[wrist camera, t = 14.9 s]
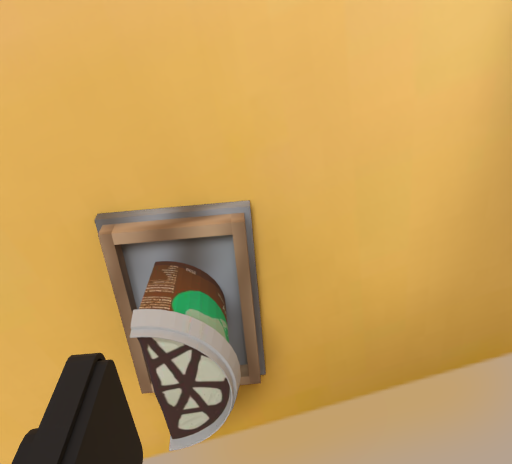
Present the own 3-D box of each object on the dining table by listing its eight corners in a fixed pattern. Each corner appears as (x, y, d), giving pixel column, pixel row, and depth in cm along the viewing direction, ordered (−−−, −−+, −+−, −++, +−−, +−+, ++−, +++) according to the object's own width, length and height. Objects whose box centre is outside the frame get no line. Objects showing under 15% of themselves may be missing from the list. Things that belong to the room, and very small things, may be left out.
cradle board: (249, 200, 38) (250, 215, 36) (265, 366, 47) (266, 386, 45) (97, 213, 38) (89, 229, 36) (141, 377, 47) (137, 397, 45)
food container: (248, 350, 45) (252, 445, 36) (182, 358, 45) (170, 455, 36) (227, 235, 39) (225, 317, 30) (150, 246, 39) (127, 330, 30)
